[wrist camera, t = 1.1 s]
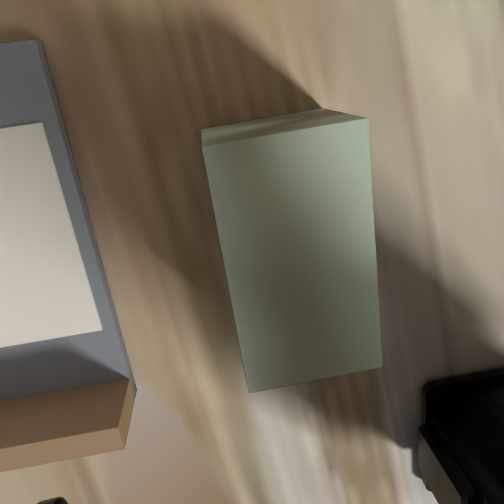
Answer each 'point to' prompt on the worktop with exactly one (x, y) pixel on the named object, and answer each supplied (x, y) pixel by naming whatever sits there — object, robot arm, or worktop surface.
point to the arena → (51, 287)
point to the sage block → (297, 244)
